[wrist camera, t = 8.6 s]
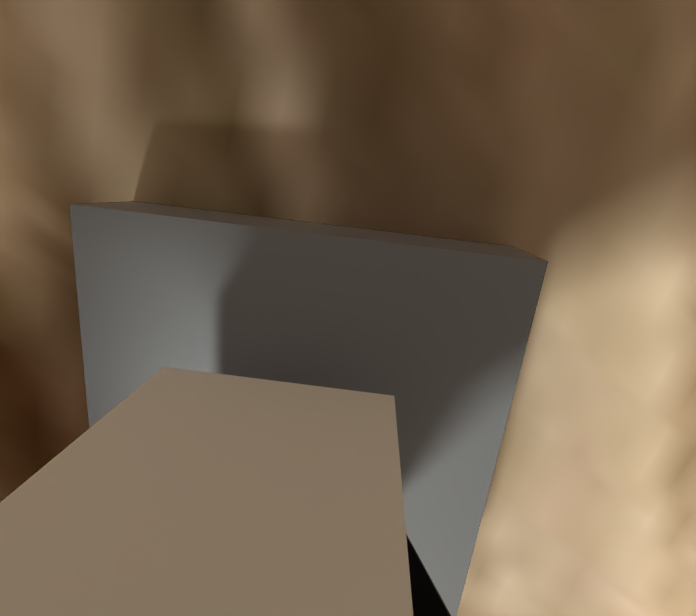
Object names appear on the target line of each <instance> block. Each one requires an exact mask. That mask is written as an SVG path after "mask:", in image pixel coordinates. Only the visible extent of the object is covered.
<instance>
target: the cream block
mask: <svg viewBox="0 0 696 616" xmlns="http://www.w3.org/2000/svg"><path fill="white" fill-rule="evenodd" d="M0 616H413V606H412V595H411V583H410V572H409V560H408V548H407V537H406V525H405V514H404V502H403V491H402V479H401V467H400V456H399V444H398V433H397V421H396V409H395V398H394V396H392V395H384V394H377V393H369V392H361V391H353V390H345V389H337V388H329V387H321V386H313V385H305V384H297V383H289V382H281V381H273V380H265V379H257V378H249V377H241V376H233V375H225V374H217V373H210V372H202V371H194V370H186V369H178V368H170V367H163V368H162V369H160V370H159V371H158V372H157V373H155V374H154V375H153V376H152V377H151V378H149V379H148V380H147V381H146V382H145V383H143V384H142V385H141V386H140V387H139V388H137V389H136V390H135V391H134V392H133V393H131V394H130V395H129V396H128V397H127V398H125V399H124V400H123V401H122V402H121V403H119V404H118V405H117V406H116V407H115V408H113V409H112V410H111V411H110V412H109V413H107V414H106V415H105V416H104V417H102V418H101V419H100V420H99V421H98V422H96V423H95V424H94V425H93V426H92V427H90V428H89V429H88V430H87V431H86V432H84V433H83V434H82V435H81V436H80V437H78V438H77V439H76V440H75V441H74V442H72V443H71V444H70V445H69V446H68V447H66V448H65V449H64V450H63V451H62V452H60V453H59V454H58V455H57V456H55V457H54V458H53V459H52V460H51V461H49V462H48V463H47V464H46V465H45V466H43V467H42V468H41V469H40V470H39V471H37V472H36V473H35V474H34V475H33V476H31V477H30V478H29V479H28V480H27V481H25V482H24V483H23V484H22V485H21V486H19V487H18V488H17V489H16V490H15V491H13V492H12V493H11V494H10V495H9V496H7V497H6V498H5V499H4V500H2V501H1V502H0Z"/></svg>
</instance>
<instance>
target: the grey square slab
mask: <svg viewBox="0 0 696 616" xmlns="http://www.w3.org/2000/svg"><path fill="white" fill-rule="evenodd" d="M69 209H70V220H71V231H72V242H73V253H74V264H75V276H76V287H77V298H78V309H79V320H80V331H81V342H82V353H83V365H84V376H85V387H86V398H87V409H88V420H89V428H90V427H92V426H93V425H94V424H95V423H96V422H98V421H99V420H100V419H101V418H102V417H104V416H105V415H106V414H107V413H109V412H110V411H111V410H112V409H113V408H115V407H116V406H117V405H118V404H119V403H121V402H122V401H123V400H124V399H125V398H127V397H128V396H129V395H130V394H131V393H133V392H134V391H135V390H136V389H137V388H139V387H140V386H141V385H142V384H143V383H145V382H146V381H147V380H148V379H149V378H151V377H152V376H153V375H154V374H155V373H157V372H158V371H159V370H160V369H162V368H163V367H170V368H178V369H186V370H194V371H202V372H210V373H217V374H225V375H233V376H241V377H249V378H257V379H265V380H273V381H281V382H289V383H297V384H305V385H313V386H321V387H329V388H337V389H345V390H353V391H361V392H369V393H377V394H384V395H392V396H394V398H395V409H396V421H397V433H398V444H399V456H400V467H401V479H402V491H403V502H404V514H405V525H406V534H407V536H408V537H409V539H410V541H411V543H412V545H413V547H414V548H415V550H416V552H417V554H418V556H419V558H420V559H421V561H422V563H423V565H424V567H425V568H426V570H427V572H428V574H429V576H430V578H431V579H432V581H433V583H434V585H435V587H436V589H437V590H438V592H439V594H440V596H441V598H442V600H443V601H444V603H445V605H446V607H447V609H448V610H449V612H450V614H451V616H456V615H457V612H458V608H459V604H460V600H461V596H462V592H463V588H464V585H465V581H466V577H467V573H468V569H469V565H470V561H471V558H472V554H473V550H474V546H475V542H476V538H477V534H478V530H479V527H480V523H481V519H482V515H483V511H484V507H485V503H486V500H487V496H488V492H489V488H490V484H491V480H492V476H493V473H494V469H495V465H496V461H497V457H498V453H499V449H500V445H501V442H502V438H503V434H504V430H505V426H506V422H507V418H508V415H509V411H510V407H511V403H512V399H513V395H514V391H515V387H516V384H517V380H518V376H519V372H520V368H521V364H522V360H523V357H524V353H525V349H526V345H527V341H528V337H529V333H530V330H531V326H532V322H533V318H534V314H535V310H536V306H537V302H538V299H539V295H540V291H541V287H542V283H543V279H544V275H545V272H546V268H547V264H548V261H545V260H543V259H540V258H538V257H536V256H533V255H531V254H528V253H526V252H524V251H521V250H519V249H516V248H514V247H512V246H504V245H496V244H487V243H479V242H471V241H462V240H454V239H445V238H437V237H429V236H420V235H412V234H403V233H395V232H387V231H378V230H370V229H361V228H353V227H345V226H336V225H328V224H319V223H311V222H303V221H294V220H286V219H277V218H269V217H261V216H252V215H244V214H235V213H227V212H219V211H210V210H202V209H193V208H185V207H177V206H168V205H160V204H151V203H143V202H135V201H129V202H106V203H83V204H69Z"/></svg>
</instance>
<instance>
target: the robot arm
mask: <svg viewBox="0 0 696 616" xmlns="http://www.w3.org/2000/svg"><path fill="white" fill-rule="evenodd" d="M406 537H407V548H408V560H409V572H410V583H411V595H412V606H413V616H451V614H450V612H449V610H448V609H447V607H446V605H445V603H444V601H443V600H442V598H441V596H440V594H439V592H438V590H437V589H436V587H435V585H434V583H433V581H432V579H431V578H430V576H429V574H428V572H427V570H426V568H425V567H424V565H423V563H422V561H421V559H420V558H419V556H418V554H417V552H416V550H415V548H414V547H413V545H412V543H411V541H410V539H409V537H408V536H407V534H406Z"/></svg>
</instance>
